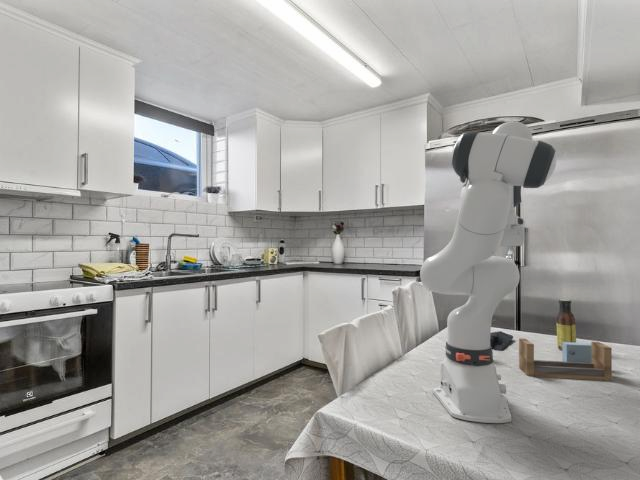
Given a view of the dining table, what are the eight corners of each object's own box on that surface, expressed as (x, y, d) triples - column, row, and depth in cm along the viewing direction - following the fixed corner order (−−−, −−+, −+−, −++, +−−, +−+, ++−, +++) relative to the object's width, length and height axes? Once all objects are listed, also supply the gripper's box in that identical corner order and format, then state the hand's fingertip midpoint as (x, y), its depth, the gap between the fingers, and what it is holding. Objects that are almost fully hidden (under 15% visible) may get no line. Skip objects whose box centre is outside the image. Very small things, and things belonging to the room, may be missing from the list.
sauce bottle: (570, 347, 145) (570, 298, 145) (580, 352, 139) (579, 301, 139) (553, 347, 146) (553, 298, 146) (562, 351, 140) (561, 300, 140)
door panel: (601, 370, 119) (601, 346, 119) (568, 369, 121) (568, 345, 121) (594, 366, 123) (594, 343, 123) (562, 365, 125) (562, 342, 125)
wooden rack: (612, 381, 110) (612, 348, 110) (527, 375, 115) (527, 344, 115) (597, 371, 118) (597, 341, 118) (518, 367, 122) (518, 337, 122)
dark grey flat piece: (519, 342, 155) (519, 331, 155) (500, 353, 140) (500, 340, 140) (483, 335, 166) (483, 325, 166) (462, 344, 151) (462, 333, 151)
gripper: (488, 219, 120) (488, 260, 120) (527, 220, 129) (527, 258, 129) (472, 220, 125) (472, 259, 125) (511, 221, 134) (511, 258, 134)
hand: (500, 259), depth 127 cm, fingers open, 8 cm apart
